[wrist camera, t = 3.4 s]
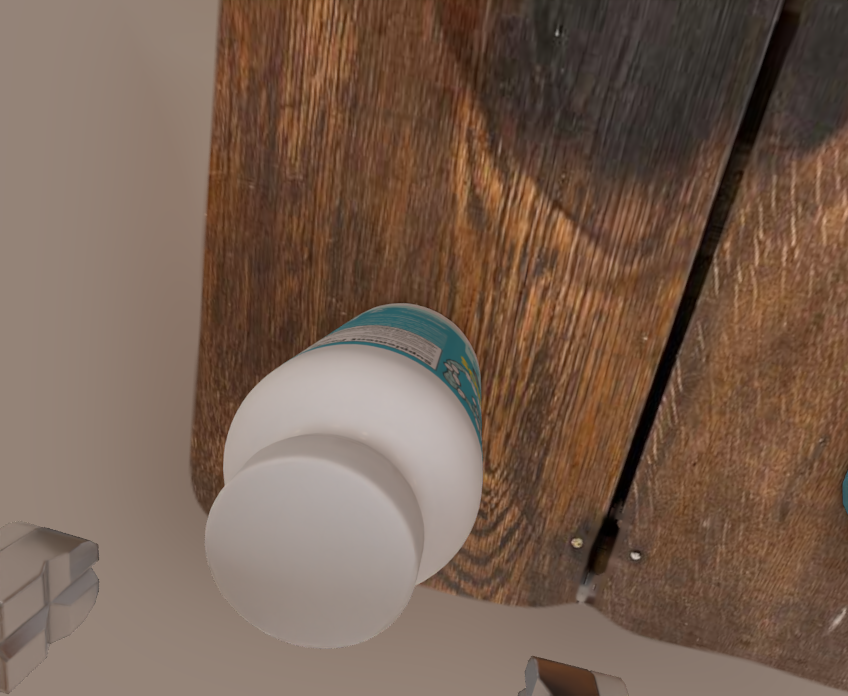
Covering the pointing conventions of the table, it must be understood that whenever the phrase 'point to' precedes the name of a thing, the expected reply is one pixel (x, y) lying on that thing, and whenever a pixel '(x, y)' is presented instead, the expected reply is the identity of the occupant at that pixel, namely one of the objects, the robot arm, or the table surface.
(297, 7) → the table surface
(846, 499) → the printed label cylinder
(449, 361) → the pill bottle
